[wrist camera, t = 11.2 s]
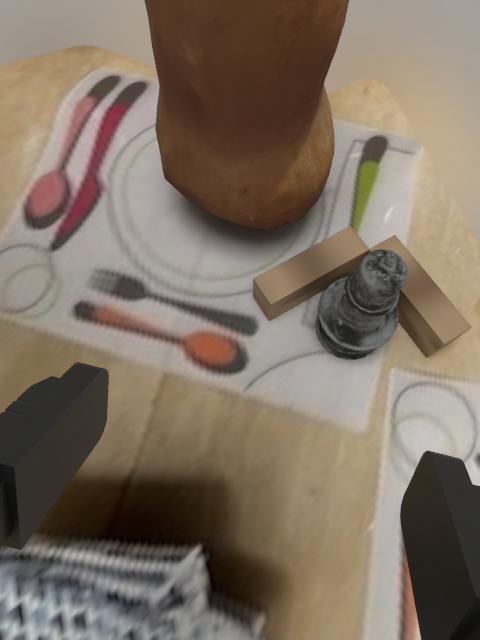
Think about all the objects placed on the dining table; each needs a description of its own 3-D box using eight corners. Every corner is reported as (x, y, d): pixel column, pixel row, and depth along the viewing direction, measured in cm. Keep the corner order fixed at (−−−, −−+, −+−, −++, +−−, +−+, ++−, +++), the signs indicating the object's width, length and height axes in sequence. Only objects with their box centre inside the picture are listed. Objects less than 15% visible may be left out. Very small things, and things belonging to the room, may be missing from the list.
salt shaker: (376, 291, 37) (430, 206, 26) (392, 358, 35) (459, 298, 24) (306, 299, 37) (330, 217, 26) (319, 367, 35) (351, 311, 24)
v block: (449, 363, 35) (469, 350, 31) (248, 315, 36) (247, 299, 33) (458, 272, 37) (478, 251, 34) (270, 232, 39) (272, 209, 36)
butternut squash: (332, 149, 42) (433, -270, 19) (307, 272, 38) (398, -77, 14) (192, 126, 44) (124, -290, 20) (152, 242, 39) (4, -121, 16)
